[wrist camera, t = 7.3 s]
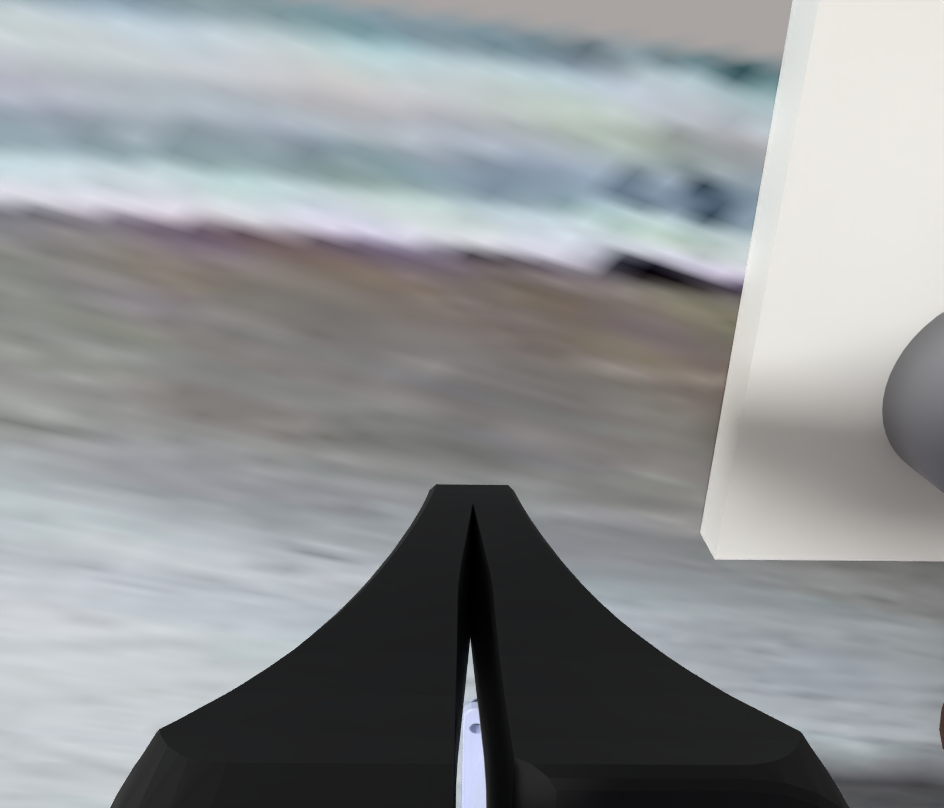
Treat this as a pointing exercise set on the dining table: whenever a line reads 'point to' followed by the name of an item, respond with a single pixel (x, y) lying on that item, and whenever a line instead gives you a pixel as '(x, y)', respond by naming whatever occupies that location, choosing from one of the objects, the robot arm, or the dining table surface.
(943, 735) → the black egg on stand
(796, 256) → the board
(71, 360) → the dining table surface
